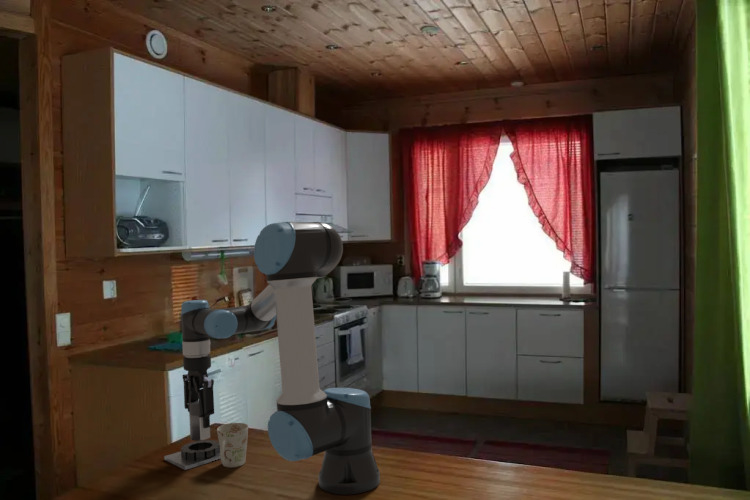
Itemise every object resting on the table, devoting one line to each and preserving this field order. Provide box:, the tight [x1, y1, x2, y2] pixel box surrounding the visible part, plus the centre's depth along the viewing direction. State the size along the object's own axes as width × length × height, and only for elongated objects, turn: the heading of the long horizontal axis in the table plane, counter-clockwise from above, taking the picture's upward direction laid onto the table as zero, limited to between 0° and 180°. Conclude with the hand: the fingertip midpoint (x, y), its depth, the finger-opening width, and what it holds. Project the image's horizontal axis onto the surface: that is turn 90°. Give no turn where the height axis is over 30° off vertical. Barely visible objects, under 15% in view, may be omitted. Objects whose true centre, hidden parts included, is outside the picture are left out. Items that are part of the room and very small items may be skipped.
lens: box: [189, 400, 201, 442], centre depth 173 cm, size 5×5×10 cm
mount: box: [163, 439, 221, 471], centre depth 173 cm, size 12×16×3 cm
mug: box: [216, 422, 249, 468], centre depth 165 cm, size 8×13×10 cm, turn 174°
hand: (200, 436), depth 173 cm, fingers closed on lens, 5 cm apart
